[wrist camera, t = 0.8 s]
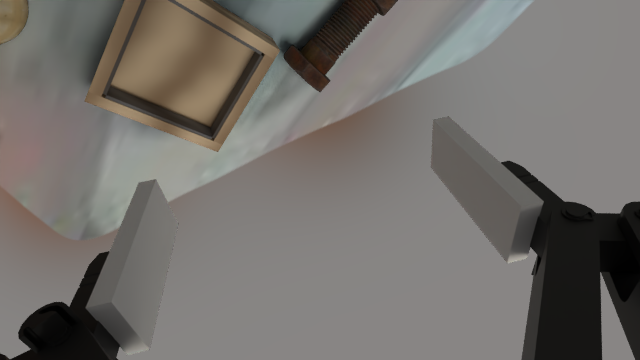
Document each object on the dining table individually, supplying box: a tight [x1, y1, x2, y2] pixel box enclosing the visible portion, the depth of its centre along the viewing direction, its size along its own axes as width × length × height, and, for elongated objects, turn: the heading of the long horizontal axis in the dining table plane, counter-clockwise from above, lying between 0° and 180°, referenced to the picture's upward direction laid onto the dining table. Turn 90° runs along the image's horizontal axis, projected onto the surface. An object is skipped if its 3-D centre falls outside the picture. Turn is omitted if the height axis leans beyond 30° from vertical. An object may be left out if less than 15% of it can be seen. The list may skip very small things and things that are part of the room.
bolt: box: [284, 0, 398, 92], centre depth 35 cm, size 6×5×15 cm
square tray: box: [85, 0, 280, 152], centre depth 33 cm, size 12×12×4 cm
